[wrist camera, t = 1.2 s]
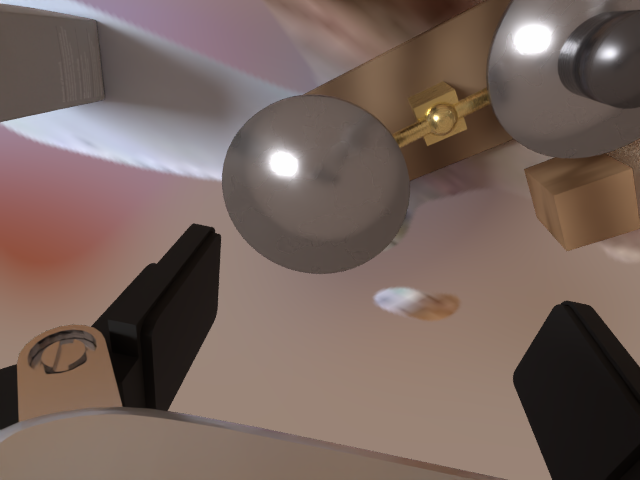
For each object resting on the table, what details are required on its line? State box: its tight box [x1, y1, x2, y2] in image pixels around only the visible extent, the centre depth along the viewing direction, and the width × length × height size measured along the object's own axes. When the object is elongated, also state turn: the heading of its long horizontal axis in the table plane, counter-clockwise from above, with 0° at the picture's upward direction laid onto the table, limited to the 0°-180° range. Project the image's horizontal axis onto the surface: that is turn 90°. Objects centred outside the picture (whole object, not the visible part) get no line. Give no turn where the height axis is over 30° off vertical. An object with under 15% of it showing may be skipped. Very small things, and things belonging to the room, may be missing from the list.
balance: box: [222, 0, 640, 274], centre depth 26 cm, size 30×12×10 cm, turn 116°
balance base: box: [304, 0, 514, 181], centre depth 31 cm, size 24×10×2 cm, turn 116°
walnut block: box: [524, 153, 640, 251], centre depth 31 cm, size 5×5×6 cm
